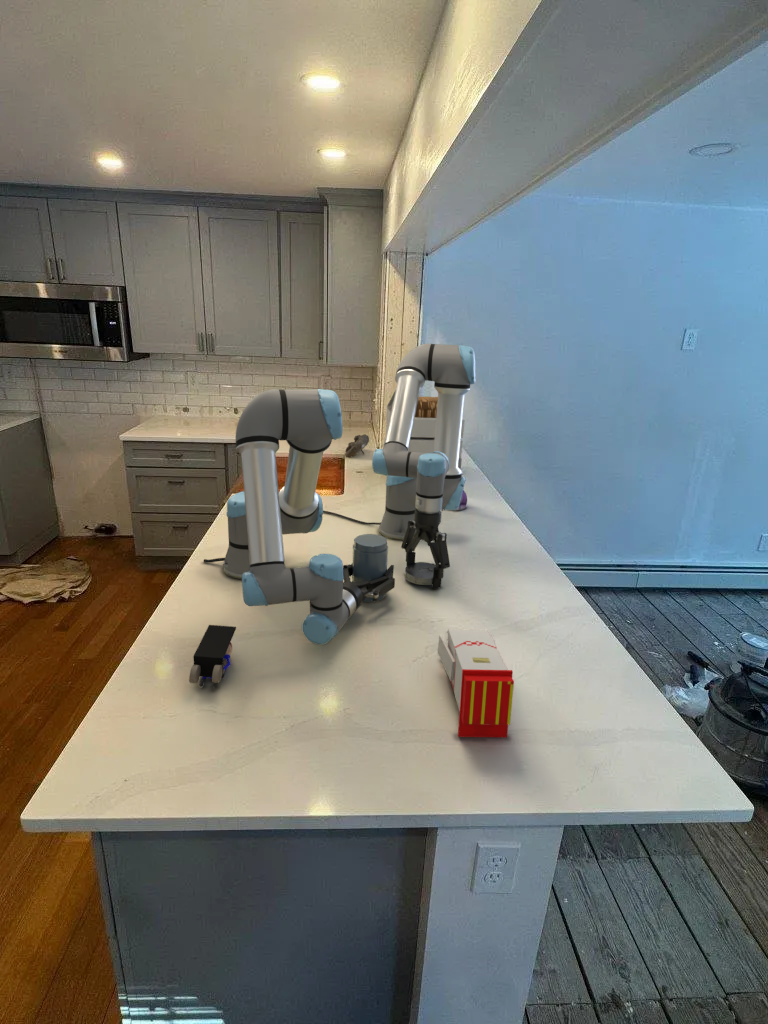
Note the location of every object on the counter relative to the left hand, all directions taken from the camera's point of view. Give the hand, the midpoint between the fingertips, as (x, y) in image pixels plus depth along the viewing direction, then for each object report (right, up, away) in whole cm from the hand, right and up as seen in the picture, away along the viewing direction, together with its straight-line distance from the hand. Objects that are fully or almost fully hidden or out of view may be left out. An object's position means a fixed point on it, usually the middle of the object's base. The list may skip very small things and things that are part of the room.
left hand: (375, 566), depth 159 cm
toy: (+20, -22, -41) cm, 51 cm away
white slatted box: (+20, +34, +116) cm, 122 cm away
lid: (+14, -2, +6) cm, 15 cm away
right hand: (+14, -5, +7) cm, 16 cm away
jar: (-2, -7, -2) cm, 8 cm away
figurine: (+32, +17, +70) cm, 79 cm away
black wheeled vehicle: (-34, -19, -38) cm, 54 cm away
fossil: (-12, +47, +147) cm, 155 cm away
